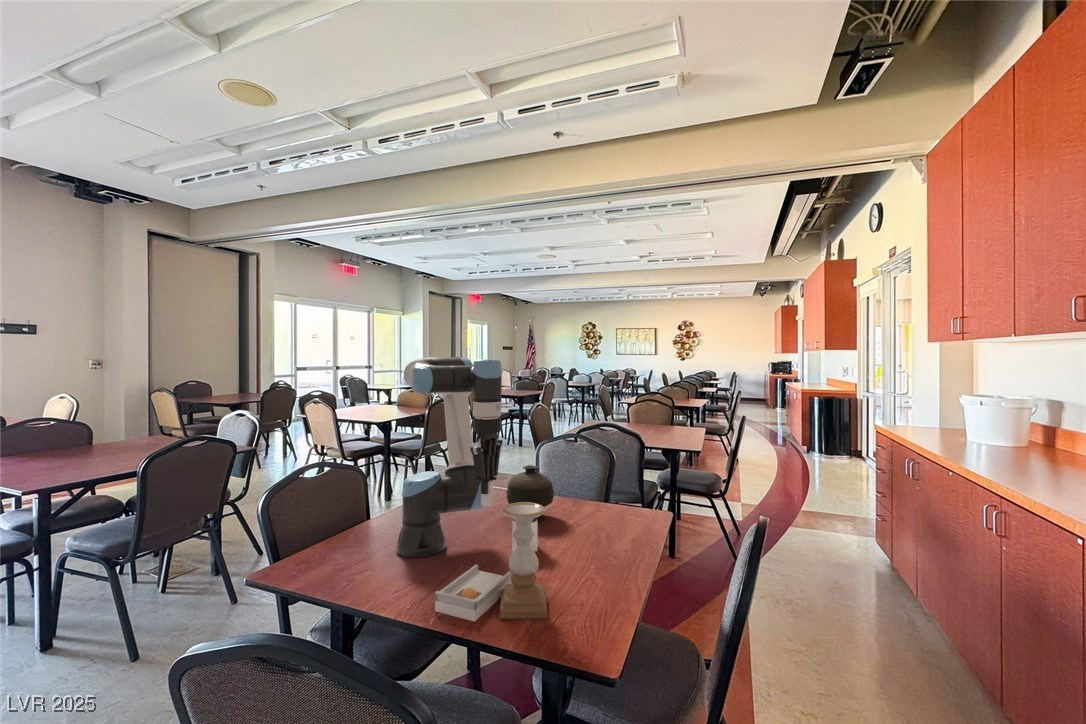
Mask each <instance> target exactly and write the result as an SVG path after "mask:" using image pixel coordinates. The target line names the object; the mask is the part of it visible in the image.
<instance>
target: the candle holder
mask: <svg viewBox="0 0 1086 724" xmlns="http://www.w3.org/2000/svg"><path fill="white" fill-rule="evenodd" d="M501 512H502V514H503V515H504V516H505V517H507V518H510V519H512V518H513V520H514V521H515V523H516V530H515V532H514V533H513V537H514V538H515V540H516V542H517V545H516V548H515V550H514V552H513V551H512V553H511V554H510V557H509V559H508V562H507V563H508V568H509V571H510V572H512V576H511V582H512V584H506V585H505V589H503V590H502V595H501V598H500V605H499V606H500V607H499V618H500V620H534V619H537V620H538V619H541V620H542V619H546V618H548V610H547V609H548V608H547V607H548V606H547V605H548V604H547V594H546V593H547V592H546V588H545V587H543V585H542V583H536V581H537V576H536V574H535V572H536V571H537V570H538V567H539V563H540V562H539V558H538V556H537V554H536V552H534V551H533V549H532V547H531V545H530V543H531V540H532V538H533V537H534V532H533V531H532V529H531V522H532V521H533V520H534V518H536V517H539V516H541V515H542V514H543V515H544V513H545V507H543V506H542V505H540V504H537V503H531V502H518V503H512V504H509V503H508V504H506V505H505V506H503V507H502V511H501Z"/></svg>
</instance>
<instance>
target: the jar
mask: <svg viewBox="0 0 1086 724" xmlns="http://www.w3.org/2000/svg"><path fill="white" fill-rule="evenodd" d="M537 519H538V517H536V518H534V520H533V521H532V522H531V529H532V531H533V532H534V537H533V538H532V540H531V543H530V545H531V547H532V549H533V551H534V553H536V552H538V538H539V537H538V535H539V534H538V533H539V532H538V522H537ZM511 521H512V524H511V525H512V526H511V528H512V529H511V531H512V532H511V535H512V536H511V539H512V542H511V544H512V545H511V548H512V549H511V550H512V551H511V552H512V553H513V552H514V550H515V548H516V545H517V542H516V540H515V538H514V537H513V533H514V532H515V530H516V523H515V521H514V520H513V518H511Z"/></svg>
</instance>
